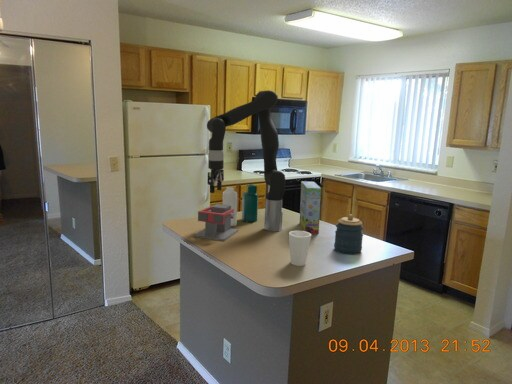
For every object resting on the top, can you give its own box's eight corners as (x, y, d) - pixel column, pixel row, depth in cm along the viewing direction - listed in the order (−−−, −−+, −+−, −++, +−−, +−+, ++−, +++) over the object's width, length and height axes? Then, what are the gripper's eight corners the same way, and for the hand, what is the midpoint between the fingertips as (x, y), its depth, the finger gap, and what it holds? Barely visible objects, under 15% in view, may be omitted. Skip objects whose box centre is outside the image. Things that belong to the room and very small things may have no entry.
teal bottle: (241, 218, 233) (242, 183, 229) (254, 218, 235) (256, 183, 231) (244, 222, 224) (245, 186, 220) (258, 222, 226) (259, 186, 222)
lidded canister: (328, 248, 183) (330, 213, 180) (345, 244, 191) (348, 210, 188) (349, 256, 173) (353, 219, 170) (367, 251, 181) (370, 215, 178)
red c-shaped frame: (222, 224, 188) (223, 214, 188) (197, 221, 193) (197, 211, 192) (233, 218, 202) (234, 208, 201) (209, 215, 206) (210, 206, 205)
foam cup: (294, 268, 157) (296, 238, 154) (283, 260, 165) (284, 231, 162) (313, 265, 161) (315, 235, 159) (301, 258, 169) (303, 229, 167)
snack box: (297, 223, 228) (300, 180, 223) (312, 223, 228) (315, 181, 223) (303, 233, 206) (306, 187, 202) (319, 234, 207) (322, 187, 202)
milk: (228, 227, 214) (229, 188, 209) (221, 224, 218) (222, 186, 213) (236, 225, 218) (237, 187, 214) (229, 223, 222) (230, 185, 218)
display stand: (224, 241, 188) (224, 213, 186) (193, 236, 194) (193, 209, 191) (238, 231, 206) (239, 206, 203) (210, 227, 211) (210, 202, 209)
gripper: (216, 161, 181) (216, 194, 184) (228, 158, 194) (228, 189, 197) (202, 160, 183) (202, 193, 186) (215, 157, 196) (214, 188, 199)
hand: (215, 191), depth 192 cm, fingers open, 8 cm apart
